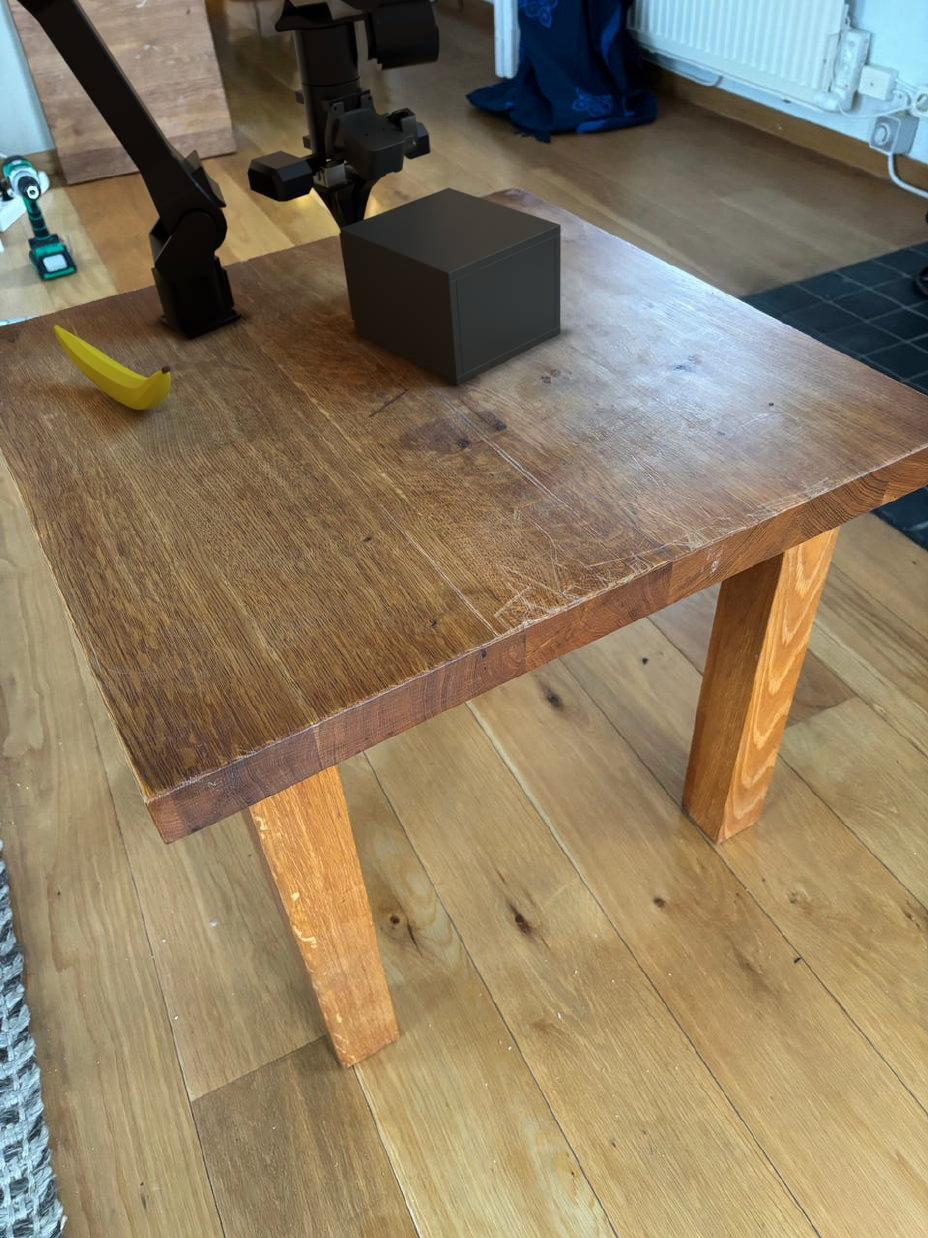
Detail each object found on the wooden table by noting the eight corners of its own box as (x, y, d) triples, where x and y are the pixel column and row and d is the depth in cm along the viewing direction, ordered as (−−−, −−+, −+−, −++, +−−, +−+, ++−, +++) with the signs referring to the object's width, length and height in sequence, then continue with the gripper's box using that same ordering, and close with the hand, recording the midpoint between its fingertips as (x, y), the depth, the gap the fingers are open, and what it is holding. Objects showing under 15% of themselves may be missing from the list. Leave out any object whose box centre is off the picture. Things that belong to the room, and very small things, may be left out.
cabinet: (355, 333, 98) (339, 228, 91) (456, 289, 104) (448, 187, 97) (457, 385, 89) (448, 272, 82) (560, 333, 95) (561, 224, 88)
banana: (85, 365, 96) (63, 305, 92) (200, 424, 87) (181, 360, 82) (59, 377, 95) (35, 316, 91) (173, 439, 85) (153, 374, 81)
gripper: (295, 117, 83) (324, 293, 93) (460, 69, 91) (469, 235, 102) (228, 95, 89) (262, 262, 100) (388, 52, 97) (404, 210, 108)
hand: (353, 242), depth 102 cm, fingers closed
